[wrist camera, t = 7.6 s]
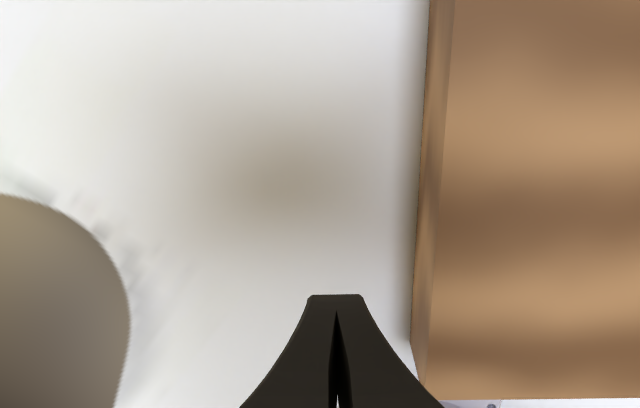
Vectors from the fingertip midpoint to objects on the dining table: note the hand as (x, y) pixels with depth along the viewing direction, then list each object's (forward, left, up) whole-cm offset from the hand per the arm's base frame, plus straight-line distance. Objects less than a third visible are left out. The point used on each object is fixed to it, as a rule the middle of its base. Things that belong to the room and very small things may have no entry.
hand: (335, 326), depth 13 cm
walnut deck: (0, -10, -10) cm, 14 cm away
